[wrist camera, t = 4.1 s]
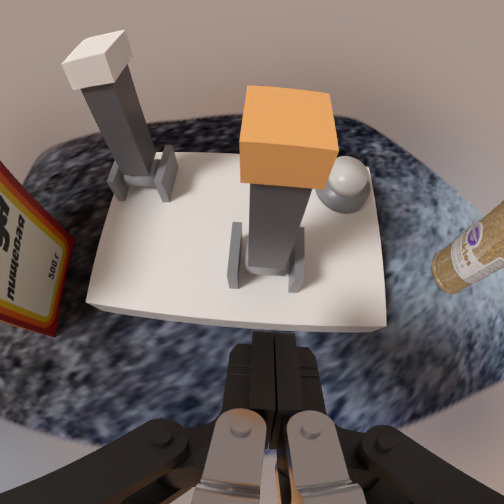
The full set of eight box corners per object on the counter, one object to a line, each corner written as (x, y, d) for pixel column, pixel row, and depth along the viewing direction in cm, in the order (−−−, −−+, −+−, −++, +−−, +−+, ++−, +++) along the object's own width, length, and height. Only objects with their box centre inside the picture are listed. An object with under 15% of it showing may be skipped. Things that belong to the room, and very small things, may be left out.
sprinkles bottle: (427, 248, 25) (516, 167, 13) (460, 253, 25) (547, 183, 12) (432, 295, 23) (537, 229, 11) (466, 296, 23) (566, 239, 11)
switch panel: (359, 186, 27) (379, 147, 22) (370, 332, 22) (405, 318, 17) (137, 172, 28) (119, 132, 22) (102, 310, 22) (66, 291, 17)
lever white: (166, 167, 24) (125, 29, 12) (159, 195, 22) (104, 53, 10) (136, 167, 24) (84, 39, 12) (127, 194, 23) (61, 63, 10)
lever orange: (285, 246, 21) (329, 93, 9) (284, 285, 20) (338, 151, 8) (246, 243, 21) (247, 85, 9) (242, 281, 20) (239, 141, 8)
